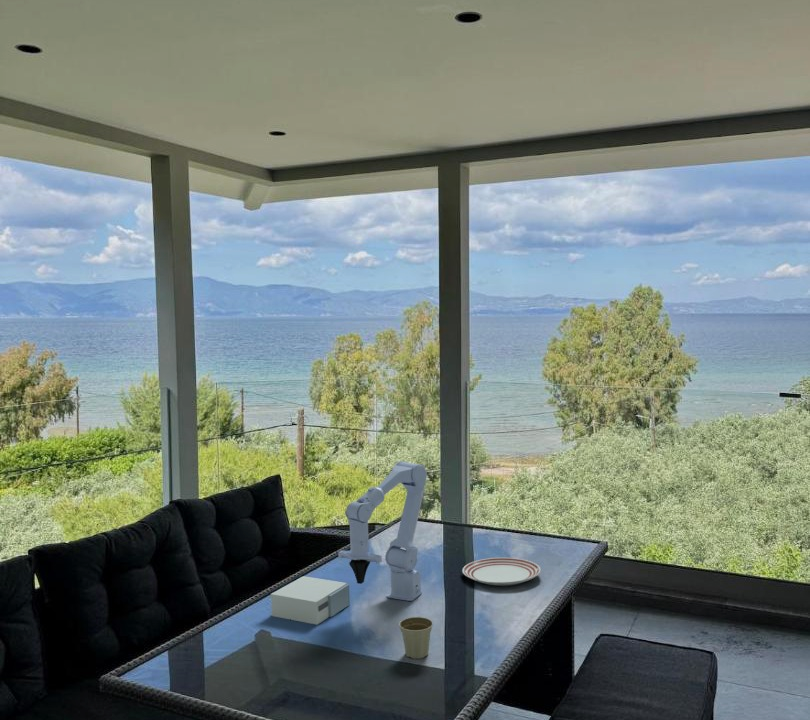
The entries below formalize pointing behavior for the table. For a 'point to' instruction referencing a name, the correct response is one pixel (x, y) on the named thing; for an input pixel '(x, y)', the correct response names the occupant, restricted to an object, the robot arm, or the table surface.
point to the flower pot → (416, 636)
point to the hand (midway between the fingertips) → (360, 582)
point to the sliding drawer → (339, 600)
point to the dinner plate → (501, 571)
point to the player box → (304, 600)
